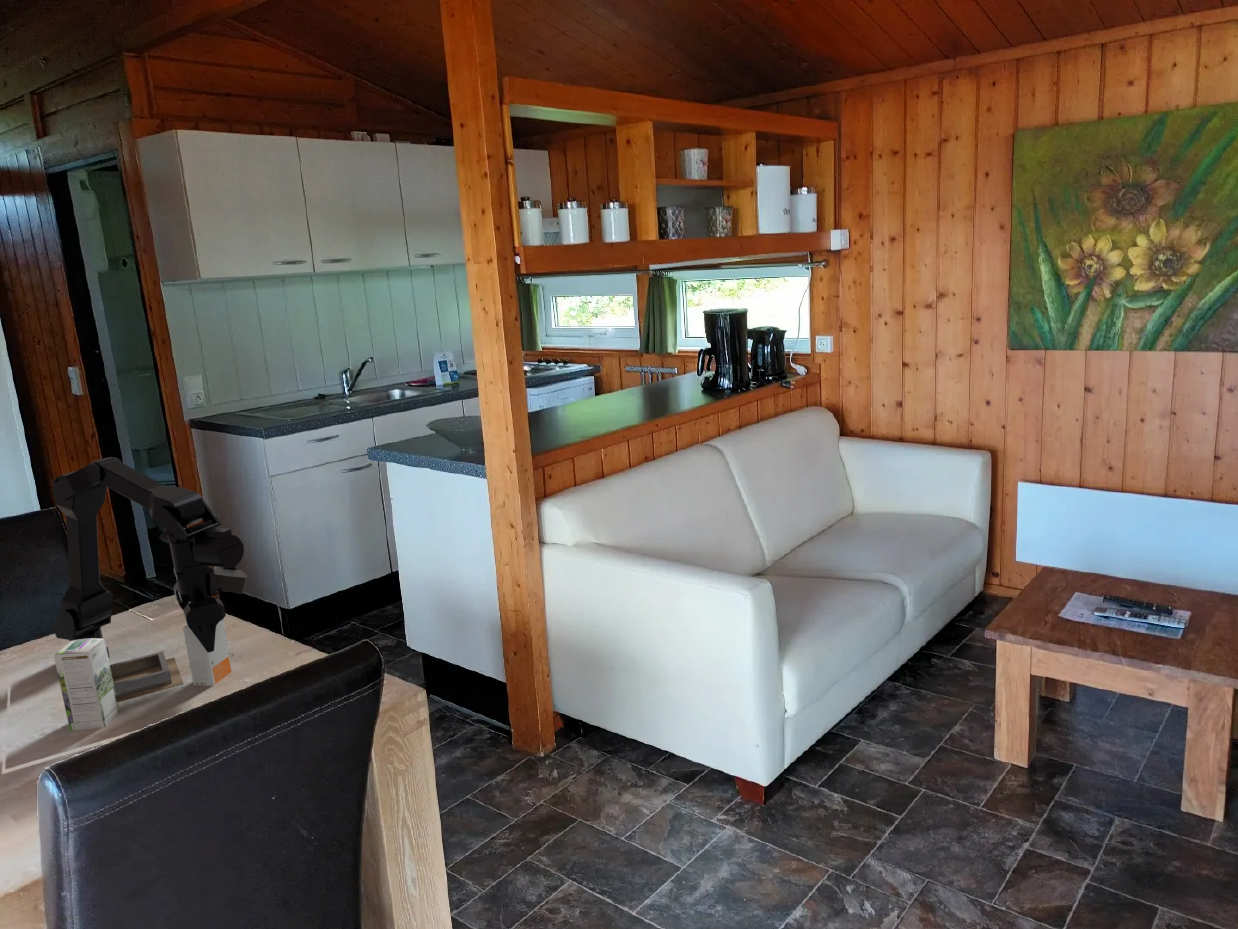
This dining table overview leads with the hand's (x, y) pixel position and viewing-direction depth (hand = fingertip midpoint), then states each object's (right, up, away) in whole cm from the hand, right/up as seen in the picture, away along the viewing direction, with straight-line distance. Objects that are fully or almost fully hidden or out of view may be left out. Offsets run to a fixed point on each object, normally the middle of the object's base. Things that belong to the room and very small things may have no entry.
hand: (206, 643), depth 168 cm
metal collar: (-14, -8, +2) cm, 16 cm away
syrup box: (-14, -12, -11) cm, 21 cm away
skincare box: (+1, -7, +2) cm, 8 cm away
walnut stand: (-14, -8, +3) cm, 16 cm away
